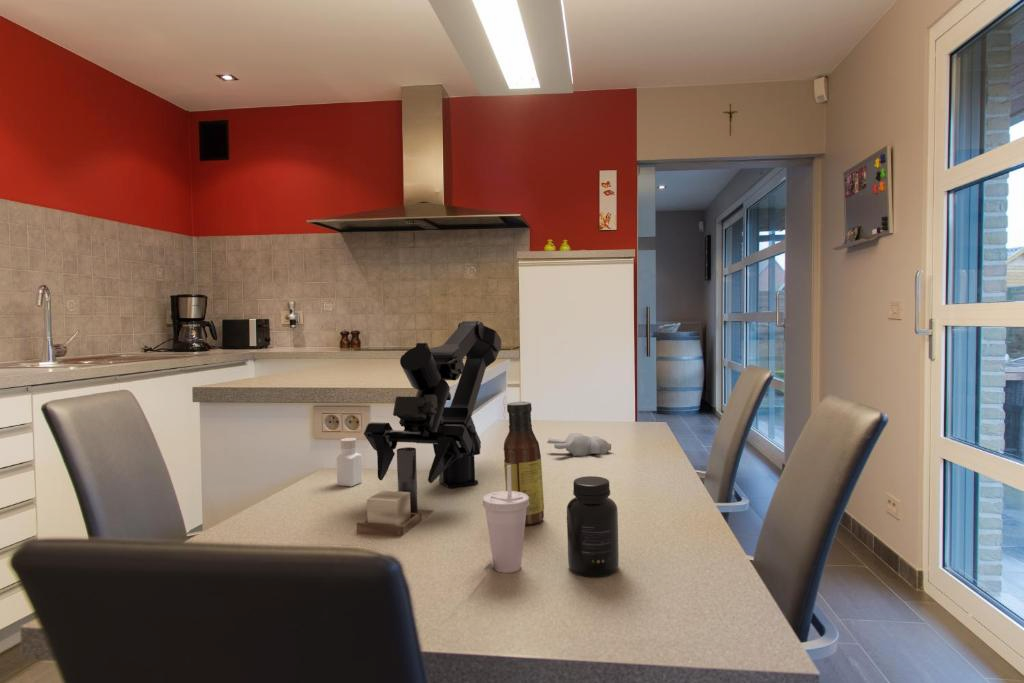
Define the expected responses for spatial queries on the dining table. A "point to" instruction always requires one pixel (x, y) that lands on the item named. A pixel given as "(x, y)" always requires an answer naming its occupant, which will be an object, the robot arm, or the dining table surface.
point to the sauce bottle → (524, 460)
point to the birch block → (389, 508)
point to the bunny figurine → (582, 444)
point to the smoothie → (506, 526)
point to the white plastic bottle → (349, 464)
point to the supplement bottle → (592, 528)
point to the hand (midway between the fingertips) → (404, 480)
